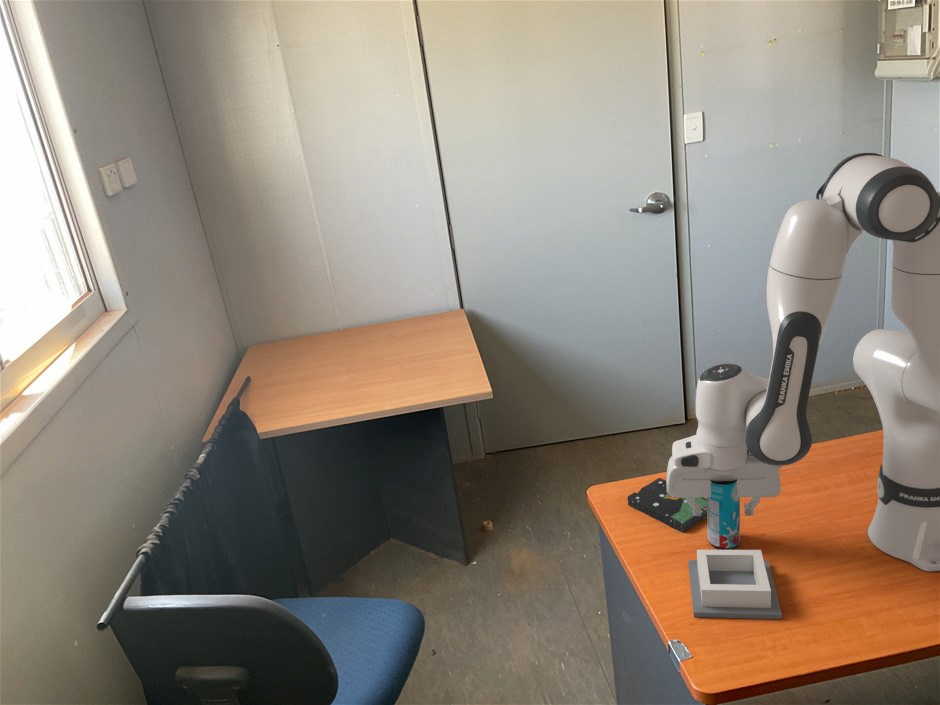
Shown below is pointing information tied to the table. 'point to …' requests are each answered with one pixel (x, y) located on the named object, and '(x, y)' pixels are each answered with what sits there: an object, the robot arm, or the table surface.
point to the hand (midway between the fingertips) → (722, 514)
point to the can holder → (733, 585)
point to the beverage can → (723, 515)
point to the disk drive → (667, 506)
